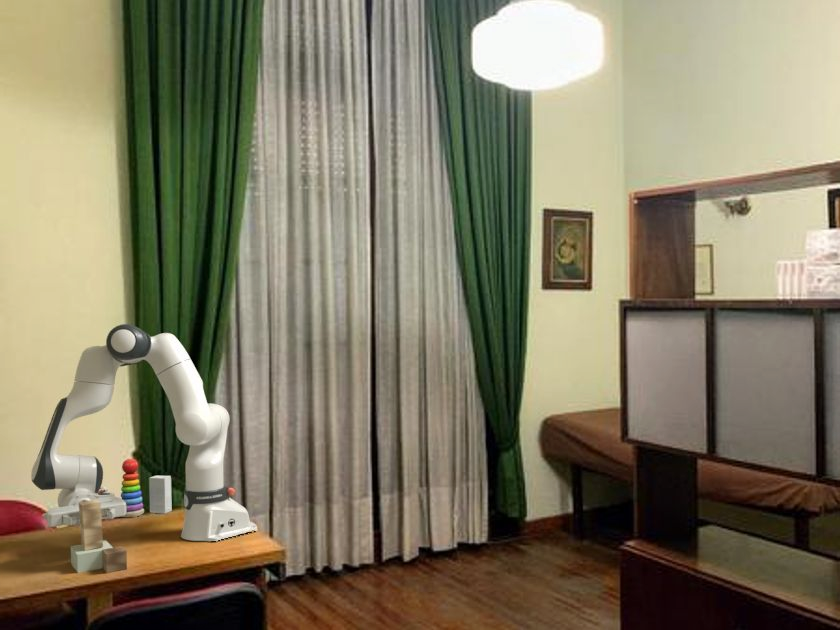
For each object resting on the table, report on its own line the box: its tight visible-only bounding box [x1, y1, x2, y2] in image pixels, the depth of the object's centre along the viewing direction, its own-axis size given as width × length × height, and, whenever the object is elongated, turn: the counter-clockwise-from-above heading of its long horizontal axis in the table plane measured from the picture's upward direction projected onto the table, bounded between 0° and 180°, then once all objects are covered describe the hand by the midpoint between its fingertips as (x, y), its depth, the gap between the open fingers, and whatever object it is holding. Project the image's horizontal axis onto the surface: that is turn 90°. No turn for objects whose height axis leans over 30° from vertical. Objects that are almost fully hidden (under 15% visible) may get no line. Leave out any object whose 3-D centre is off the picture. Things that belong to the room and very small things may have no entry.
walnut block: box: [101, 545, 128, 574], centre depth 203 cm, size 5×5×5 cm
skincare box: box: [148, 475, 173, 515], centre depth 261 cm, size 6×4×12 cm
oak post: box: [79, 499, 104, 551], centre depth 206 cm, size 4×4×12 cm
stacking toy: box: [120, 458, 145, 518], centre depth 258 cm, size 8×8×19 cm
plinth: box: [70, 539, 114, 573], centre depth 206 cm, size 9×9×5 cm
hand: (92, 518), depth 206 cm, fingers open, 8 cm apart
